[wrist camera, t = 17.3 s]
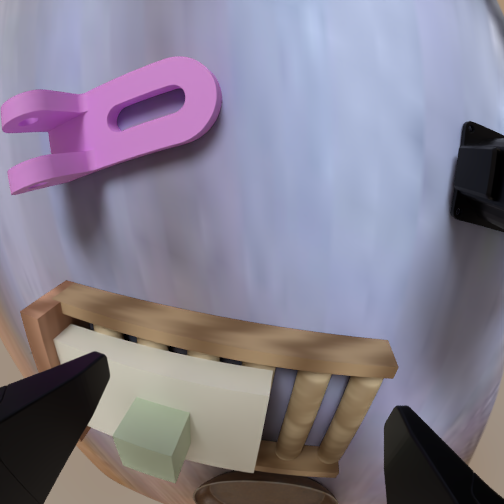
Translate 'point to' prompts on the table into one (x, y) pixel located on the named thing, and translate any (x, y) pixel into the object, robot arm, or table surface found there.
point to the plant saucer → (262, 489)
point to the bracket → (109, 122)
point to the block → (154, 439)
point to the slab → (180, 394)
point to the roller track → (237, 348)
